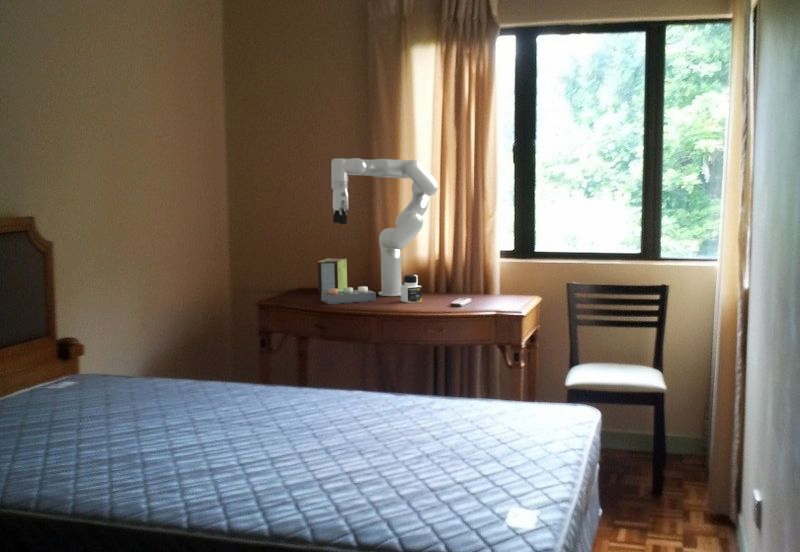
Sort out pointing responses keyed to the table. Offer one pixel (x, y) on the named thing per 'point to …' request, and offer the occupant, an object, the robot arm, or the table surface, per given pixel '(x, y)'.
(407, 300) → the medicine bottle
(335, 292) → the rust button
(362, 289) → the cream button
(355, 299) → the console
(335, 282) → the protein box
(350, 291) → the sage button
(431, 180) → the robot arm
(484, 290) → the table surface
